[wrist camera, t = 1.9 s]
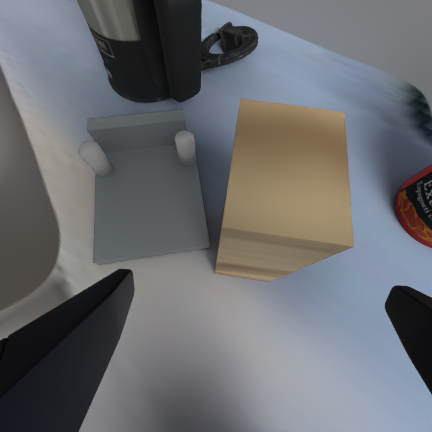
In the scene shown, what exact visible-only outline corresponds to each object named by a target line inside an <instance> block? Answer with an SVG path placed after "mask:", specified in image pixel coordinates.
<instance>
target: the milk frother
mask: <svg viewBox="0 0 432 432" xmlns="http://www.w3.org/2000/svg"><path fill="white" fill-rule="evenodd" d="M77 1H78V4H79V6H80V8H81V10H82V12H83V14H84V17H85V19H86V21H87V24H88V26H89V28H90V31H91V33H92V35H93V38H94V40H95V42H96V44H97V46H98V49H99V52H100V54H101V56H102V58H103V61H104V65H105V68H106V70H107V73H108V78H109V82H110V84H111V86H112V87H113V89H114V90H115V91H116V92H117V93H118V94H119V95H121V96H123V97H124V98H127V99H129V100H133V101H137V102H154V101H159V100H164V99H166V98H168V97H170V96H172V98H173V99H174V100H176V101H177V102H183V101H185V100H187V99H189V98H191V97H193V96H195V95H196V94H198V93H199V91H200V88H201V70H205V69H210V68H214V67H219V66H222V65H226V64H229V63H232V62H235V61H237V60H239V59H241V58H243V57H245V56H247V55H248V54H250V53H251V52H252V51H253V50H254V49H255V48H256V46H257V44H258V34H257V32H256V31H255V30H254V29H252V28H250V27H247V26H237V27H235V26H232V23H231V22H228V23H226V24H225V25H223V26H222V27H221V28H217V29H216V33H213V34H211V35H210V36H208V37H207V38H206V39H204V40H203V41H202V42H201V9H202V4H201V0H77ZM220 39H221V43H222V47H223V49H224V52H225V53H223V54H212V53H209V49H210V47H211V46H212V45H213V44H214V43H215V42H216V41H217V40H220ZM229 50H232V51H229ZM228 51H229V52H228ZM201 61H202V62H201Z"/></svg>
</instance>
